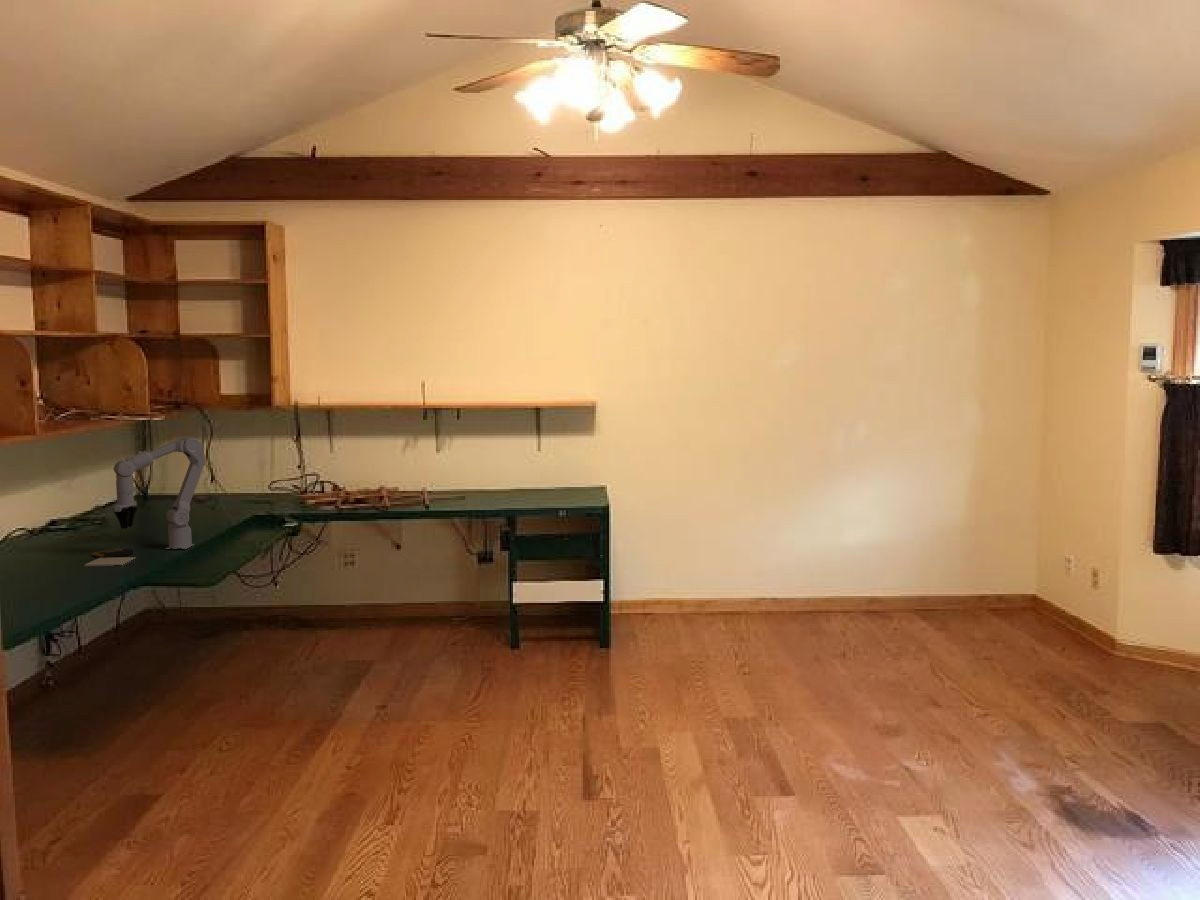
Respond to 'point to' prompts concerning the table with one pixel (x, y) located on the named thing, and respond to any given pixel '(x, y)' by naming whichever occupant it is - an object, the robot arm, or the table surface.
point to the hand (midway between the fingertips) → (126, 527)
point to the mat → (110, 561)
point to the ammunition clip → (113, 553)
